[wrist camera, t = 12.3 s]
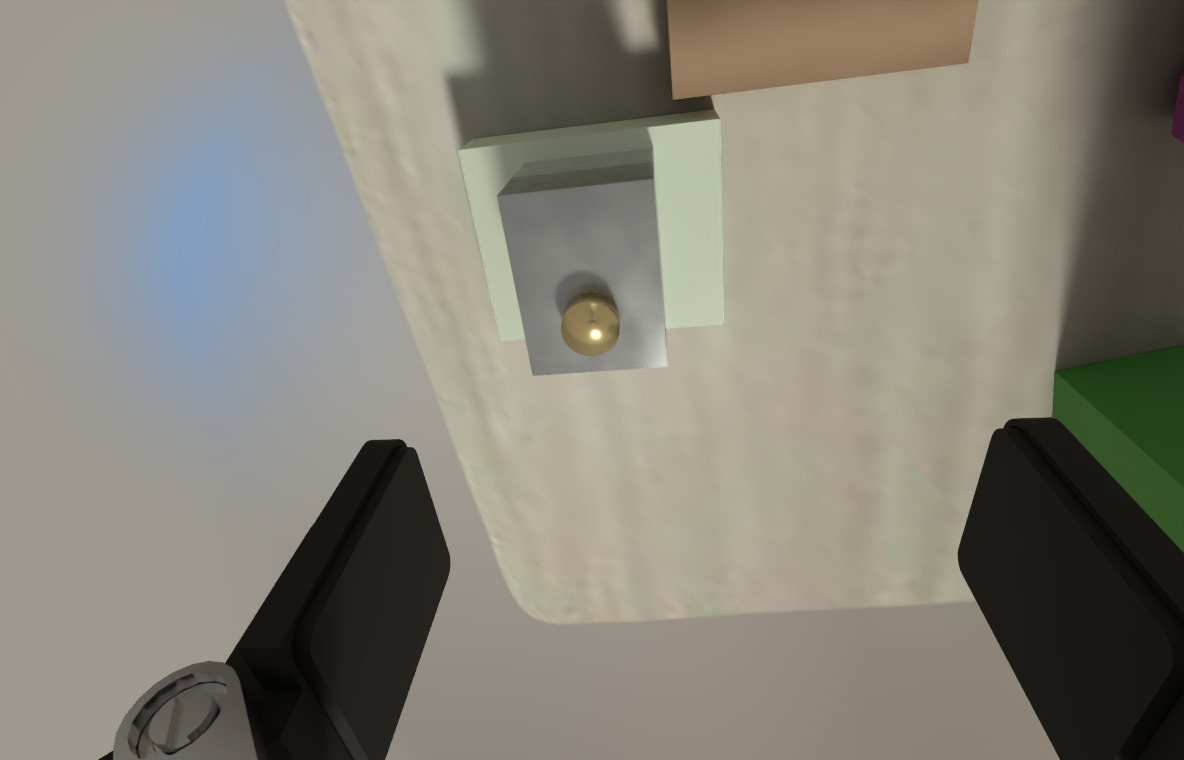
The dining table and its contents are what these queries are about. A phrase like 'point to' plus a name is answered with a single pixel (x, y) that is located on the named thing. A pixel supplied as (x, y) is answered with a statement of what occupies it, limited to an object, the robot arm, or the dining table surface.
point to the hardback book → (1133, 427)
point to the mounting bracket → (1179, 112)
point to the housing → (587, 262)
